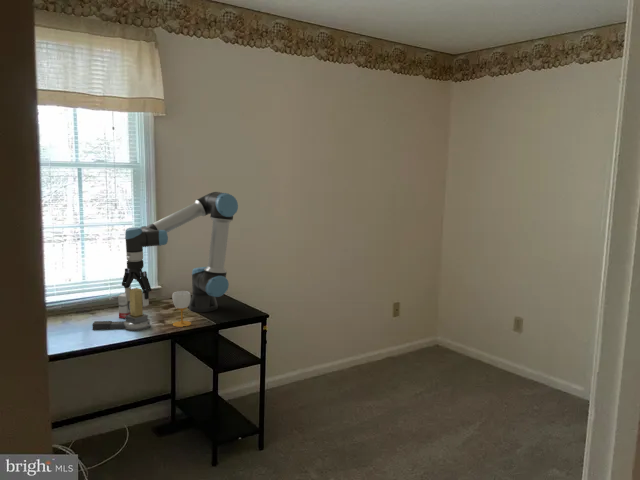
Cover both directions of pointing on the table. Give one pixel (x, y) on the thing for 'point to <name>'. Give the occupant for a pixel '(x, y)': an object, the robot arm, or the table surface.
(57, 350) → the table surface
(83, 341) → the table surface
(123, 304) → the ink box
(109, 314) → the table surface
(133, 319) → the ratchet
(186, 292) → the cup
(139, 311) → the gold square rod
